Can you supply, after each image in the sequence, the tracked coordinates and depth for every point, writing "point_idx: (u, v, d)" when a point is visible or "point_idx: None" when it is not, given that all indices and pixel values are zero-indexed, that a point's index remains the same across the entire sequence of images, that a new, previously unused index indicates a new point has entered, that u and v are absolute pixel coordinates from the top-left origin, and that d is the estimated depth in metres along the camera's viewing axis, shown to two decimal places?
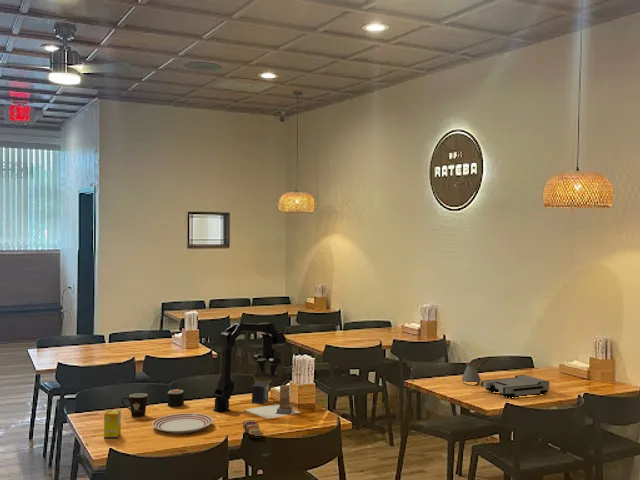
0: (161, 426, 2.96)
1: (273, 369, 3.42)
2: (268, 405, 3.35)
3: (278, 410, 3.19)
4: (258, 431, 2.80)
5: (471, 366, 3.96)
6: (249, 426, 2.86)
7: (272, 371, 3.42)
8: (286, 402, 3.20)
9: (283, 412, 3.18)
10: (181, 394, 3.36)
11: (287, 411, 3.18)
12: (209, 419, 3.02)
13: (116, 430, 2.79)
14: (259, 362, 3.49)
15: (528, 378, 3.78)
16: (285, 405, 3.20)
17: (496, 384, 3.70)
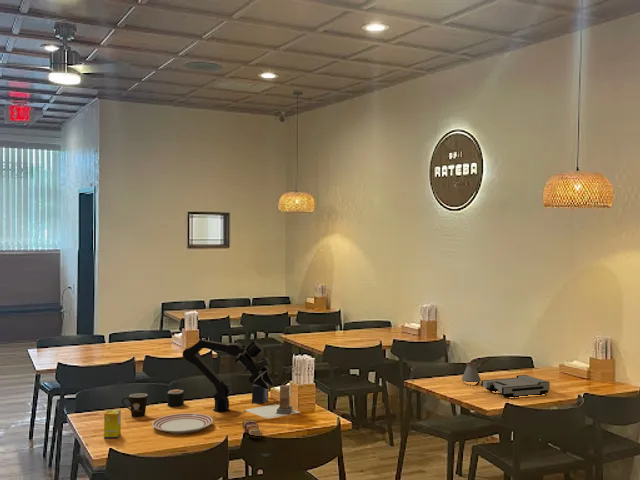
0: (161, 426, 2.96)
1: (262, 383, 3.18)
2: (268, 405, 3.35)
3: (278, 410, 3.19)
4: (258, 431, 2.80)
5: (471, 366, 3.96)
6: (249, 426, 2.86)
7: (262, 385, 3.19)
8: (286, 402, 3.20)
9: (283, 412, 3.18)
10: (181, 394, 3.36)
11: (287, 411, 3.18)
12: (209, 419, 3.02)
13: (116, 430, 2.79)
14: None
15: (529, 378, 3.78)
16: (285, 405, 3.20)
17: (496, 384, 3.71)
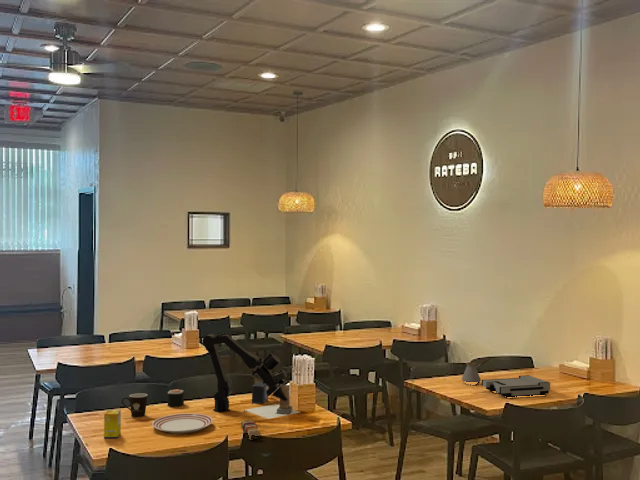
0: (161, 426, 2.96)
1: (281, 395, 3.19)
2: (268, 405, 3.35)
3: (278, 410, 3.19)
4: (257, 431, 2.80)
5: (471, 366, 3.96)
6: (248, 426, 2.85)
7: (281, 397, 3.19)
8: (286, 402, 3.20)
9: (283, 412, 3.18)
10: (181, 394, 3.36)
11: (287, 411, 3.18)
12: (209, 419, 3.02)
13: (116, 430, 2.79)
14: None
15: (530, 378, 3.77)
16: (285, 405, 3.20)
17: (495, 383, 3.72)
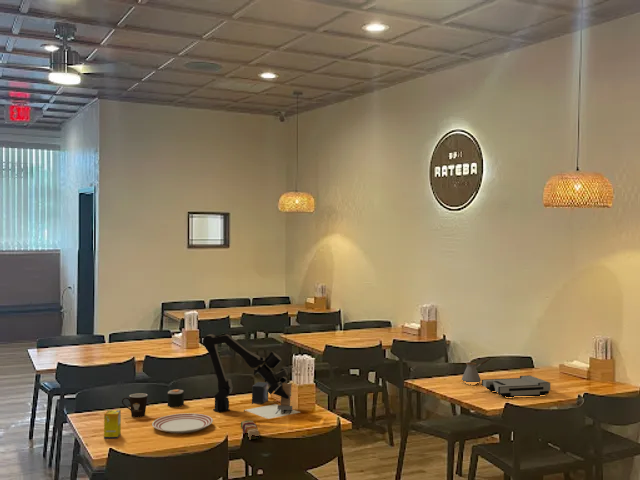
0: (161, 426, 2.96)
1: (282, 393, 3.21)
2: (268, 405, 3.35)
3: (279, 406, 3.19)
4: (256, 432, 2.80)
5: (471, 366, 3.96)
6: (247, 427, 2.85)
7: (282, 395, 3.21)
8: (287, 399, 3.22)
9: (284, 408, 3.19)
10: (181, 394, 3.36)
11: (288, 407, 3.19)
12: (209, 419, 3.02)
13: (116, 430, 2.79)
14: None
15: (531, 379, 3.77)
16: (286, 402, 3.21)
17: (495, 383, 3.72)
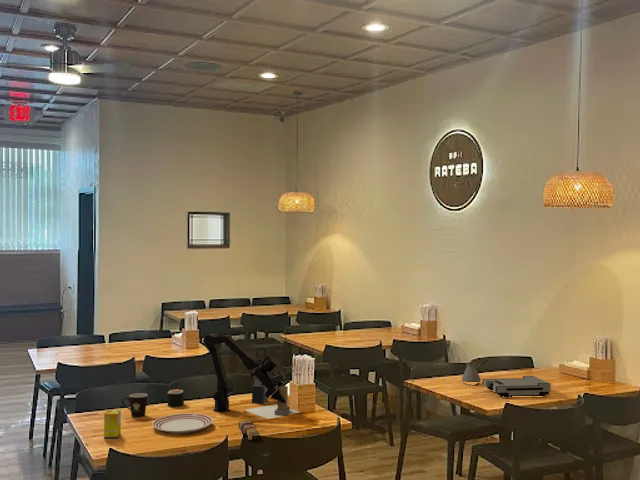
0: (161, 426, 2.96)
1: (279, 397, 3.16)
2: (268, 405, 3.35)
3: (276, 411, 3.16)
4: (256, 432, 2.79)
5: (471, 366, 3.96)
6: (246, 427, 2.85)
7: (279, 399, 3.17)
8: (284, 403, 3.17)
9: (281, 413, 3.16)
10: (181, 394, 3.36)
11: (285, 412, 3.15)
12: (209, 419, 3.02)
13: (116, 430, 2.79)
14: None
15: (532, 379, 3.75)
16: (283, 407, 3.17)
17: (495, 383, 3.73)
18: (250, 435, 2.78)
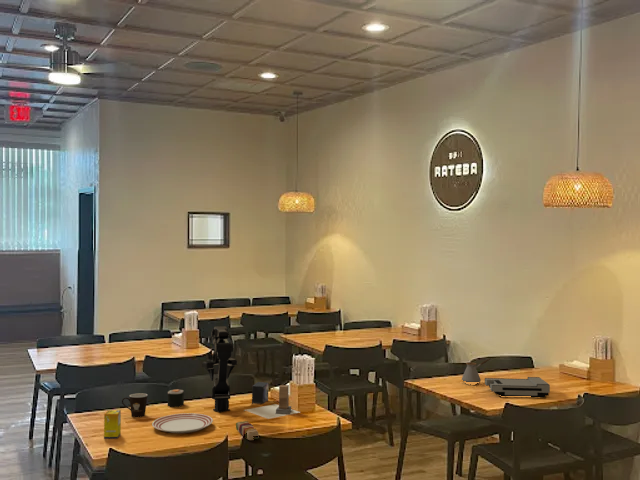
0: (161, 426, 2.96)
1: None
2: (268, 405, 3.35)
3: (277, 410, 3.19)
4: (256, 432, 2.79)
5: (471, 366, 3.96)
6: (245, 427, 2.84)
7: None
8: (285, 402, 3.20)
9: (282, 412, 3.18)
10: (181, 394, 3.36)
11: (286, 411, 3.18)
12: (209, 419, 3.02)
13: (116, 430, 2.79)
14: None
15: (534, 380, 3.73)
16: (284, 405, 3.20)
17: (494, 382, 3.75)
18: (250, 435, 2.78)
